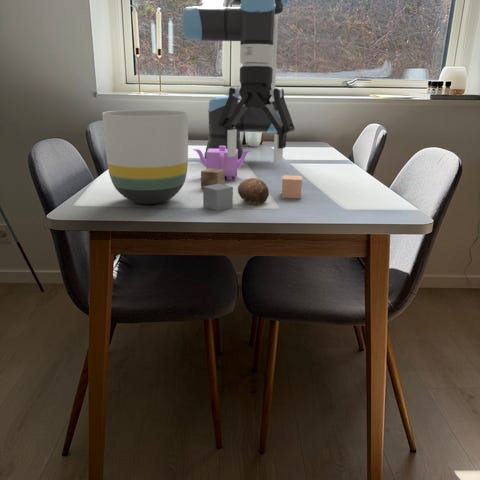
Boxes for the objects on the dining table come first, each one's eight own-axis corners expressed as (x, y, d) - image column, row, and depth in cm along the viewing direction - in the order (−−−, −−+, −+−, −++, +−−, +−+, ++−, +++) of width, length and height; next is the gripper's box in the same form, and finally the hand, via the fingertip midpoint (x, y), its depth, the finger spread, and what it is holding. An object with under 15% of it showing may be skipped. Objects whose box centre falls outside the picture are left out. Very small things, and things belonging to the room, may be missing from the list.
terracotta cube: (281, 197, 120) (282, 179, 119) (282, 193, 125) (282, 175, 123) (300, 198, 120) (301, 179, 118) (300, 194, 124) (301, 175, 123)
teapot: (250, 173, 150) (251, 143, 147) (251, 182, 138) (252, 149, 134) (195, 172, 150) (195, 142, 147) (191, 181, 138) (190, 148, 134)
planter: (196, 209, 108) (194, 115, 101) (110, 215, 103) (102, 116, 96) (182, 190, 126) (180, 109, 119) (108, 194, 121) (101, 110, 113)
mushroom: (235, 184, 119) (244, 167, 115) (263, 196, 121) (273, 179, 116) (231, 206, 114) (240, 189, 109) (260, 217, 115) (271, 201, 111)
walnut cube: (201, 188, 129) (200, 171, 127) (208, 185, 133) (208, 168, 131) (217, 190, 127) (217, 172, 125) (224, 187, 131) (224, 169, 130)
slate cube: (203, 206, 111) (203, 186, 109) (219, 203, 114) (219, 183, 113) (216, 211, 108) (216, 190, 106) (232, 207, 111) (232, 187, 109)
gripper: (203, 65, 109) (204, 155, 116) (295, 64, 95) (290, 167, 102) (223, 66, 115) (223, 152, 121) (313, 65, 101) (307, 162, 107)
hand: (254, 159), depth 112 cm, fingers open, 13 cm apart
